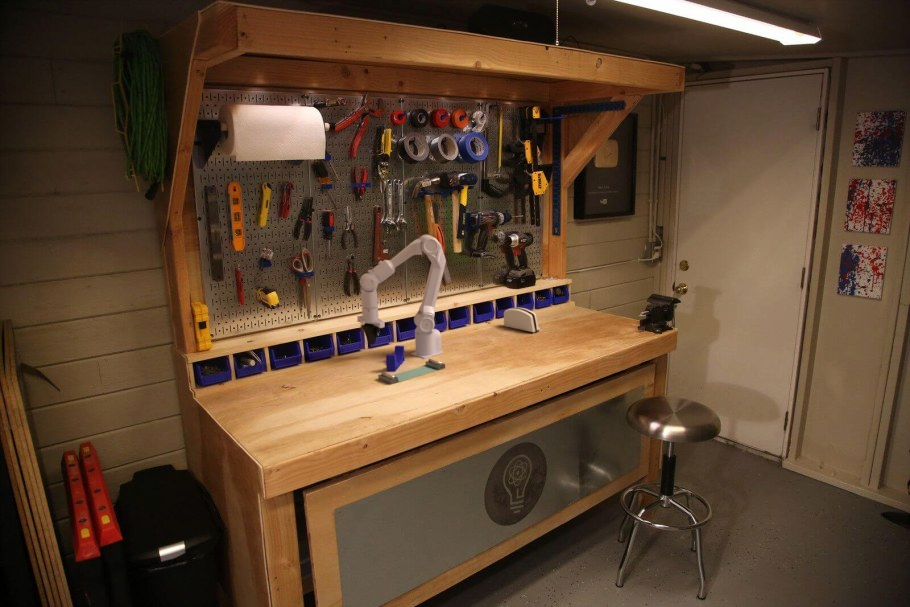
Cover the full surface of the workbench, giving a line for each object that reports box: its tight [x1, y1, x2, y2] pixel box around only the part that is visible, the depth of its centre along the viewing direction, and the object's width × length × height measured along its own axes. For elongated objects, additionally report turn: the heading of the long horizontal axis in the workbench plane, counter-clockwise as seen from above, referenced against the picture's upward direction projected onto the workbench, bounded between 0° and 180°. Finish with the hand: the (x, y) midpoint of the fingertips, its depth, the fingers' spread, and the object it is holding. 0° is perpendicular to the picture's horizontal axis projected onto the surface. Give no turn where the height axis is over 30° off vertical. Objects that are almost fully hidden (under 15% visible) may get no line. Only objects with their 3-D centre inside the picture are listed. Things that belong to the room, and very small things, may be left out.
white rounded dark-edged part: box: [503, 307, 541, 333], centre depth 257 cm, size 17×5×10 cm, turn 43°
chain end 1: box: [377, 371, 399, 385], centre depth 199 cm, size 3×7×2 cm, turn 42°
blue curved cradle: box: [385, 345, 406, 373], centre depth 214 cm, size 12×4×6 cm, turn 169°
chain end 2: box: [424, 358, 446, 371], centre depth 212 cm, size 3×7×2 cm, turn 42°
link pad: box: [391, 365, 438, 383], centre depth 206 cm, size 16×7×1 cm, turn 132°
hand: (371, 343), depth 222 cm, fingers closed
